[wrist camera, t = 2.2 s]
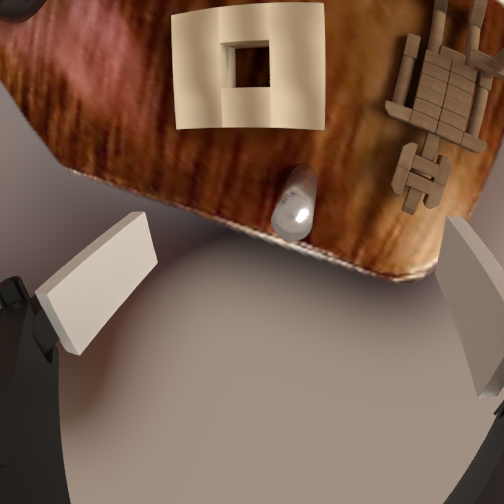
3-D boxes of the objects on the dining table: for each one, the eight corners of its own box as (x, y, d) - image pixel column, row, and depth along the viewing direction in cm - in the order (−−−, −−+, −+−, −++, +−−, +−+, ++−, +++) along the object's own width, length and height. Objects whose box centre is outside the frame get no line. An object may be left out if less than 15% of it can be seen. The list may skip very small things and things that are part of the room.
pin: (289, 189, 34) (271, 238, 24) (290, 163, 32) (271, 201, 22) (316, 191, 33) (310, 242, 23) (318, 165, 32) (313, 205, 22)
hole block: (196, 122, 32) (176, 129, 28) (192, 23, 26) (171, 15, 22) (324, 124, 29) (324, 130, 25) (324, 15, 23) (323, 3, 19)
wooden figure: (564, -30, 3) (496, 308, 14) (506, 33, 18) (456, 230, 29) (368, -106, 7) (291, 217, 19) (390, -11, 22) (343, 181, 33)
